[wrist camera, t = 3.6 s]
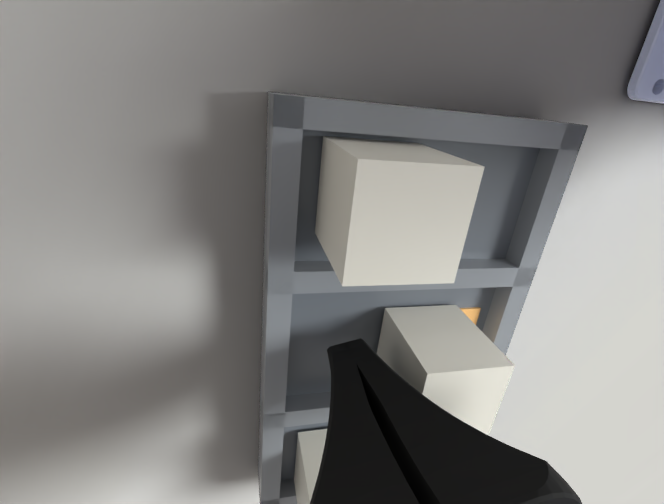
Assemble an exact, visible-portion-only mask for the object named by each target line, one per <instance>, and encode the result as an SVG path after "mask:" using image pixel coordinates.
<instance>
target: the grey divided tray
mask: <svg viewBox="0 0 664 504" xmlns="http://www.w3.org/2000/svg"><path fill="white" fill-rule="evenodd" d="M587 127H588V125H580V124H573V123H565V122H558V121H550V120H542V119H532V118H523V117H513V116H503V115H493V114H483V113H473V112H463V111H454V110H444V109H434V108H424V107H414V106H404V105H394V104H385V103H375V102H365V101H355V100H345V99H335V98H326V97H316V96H306V95H296V94H286V93H276V92H268V112H267V151H266V190H265V228H264V267H263V305H262V344H261V382H260V421H259V459H258V476H259V495H260V504H297V498H296V491H295V484H294V473H295V461H296V449H297V437H298V432H305V431H313V430H321V429H327V428H328V420H329V410H330V399H331V370H330V364H329V359H328V353H327V349H328V348H329V347H330V346H334V345H337V344H341V343H345V342H349V341H353V340H356V339H360V338H361V339H363V340H365V342H366V343H367V344H368V345H369V346H370V347H371V348H372V350H373V351H374V352H375V353H376V354H377V349H378V343H379V338H380V333H381V327H382V322H383V316H384V311H385V308H396V307H418V306H440V305H457V306H458V307H459V308H460V309H461V310H462V311H463V312H464V313H465V315H466V316H467V317H468V318H469V319H470V320H471V321H472V322H473V323H474V324H475V325H476V326H477V327H478V328H479V329H480V330H481V331H482V332H483V333H484V334H485V335H486V336H487V337H488V338H489V339H490V340H491V341H492V342H493V343H494V344H495V345H496V346H497V347H498V349H499V350H500V351H501V352H502V353H503V354H504V355H506V352H507V350H508V347H509V344H510V341H511V339H512V336H513V333H514V330H515V327H516V325H517V322H518V319H519V316H520V313H521V311H522V308H523V305H524V302H525V300H526V297H527V294H528V291H529V288H530V286H531V283H532V280H533V277H534V274H535V272H536V269H537V266H538V263H539V261H540V258H541V255H542V252H543V249H544V247H545V244H546V241H547V238H548V235H549V233H550V230H551V227H552V224H553V222H554V219H555V216H556V213H557V210H558V208H559V205H560V202H561V199H562V197H563V194H564V191H565V188H566V185H567V183H568V180H569V177H570V174H571V171H572V169H573V166H574V163H575V160H576V158H577V155H578V152H579V149H580V146H581V144H582V141H583V138H584V135H585V132H586V130H587ZM323 136H331V137H344V138H357V139H371V140H384V141H397V142H411V143H419V144H422V145H425V146H428V147H430V148H433V149H436V150H439V151H442V152H445V153H447V154H450V155H453V156H456V157H459V158H462V159H464V160H467V161H470V162H473V163H476V164H479V165H481V166H484V171H483V175H482V179H481V183H480V186H479V190H478V194H477V198H476V202H475V205H474V209H473V213H472V217H471V221H470V224H469V228H468V232H467V236H466V240H465V243H464V247H463V251H462V255H461V259H460V262H459V266H458V270H457V274H456V278H455V281H454V283H446V284H411V285H377V286H342V285H341V283H340V281H339V279H338V277H337V275H336V273H335V271H334V269H333V267H332V265H331V263H330V261H329V259H328V257H327V256H326V254H325V252H324V250H323V248H322V246H321V244H320V242H319V240H318V238H317V236H316V234H315V226H316V214H317V202H318V190H319V178H320V167H321V155H322V143H323Z"/></svg>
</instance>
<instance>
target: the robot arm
mask: <svg viewBox="0 0 664 504" xmlns="http://www.w3.org/2000/svg"><path fill="white" fill-rule="evenodd" d="M653 86H654V87H653ZM627 93H628V96H629V98H630V99H632V100H638V101H646V102H654V103H662V104H664V0H661V1H660V3H659V6H658V8H657V11H656V14H655V16H654V19H653V21H652V24H651V27H650V29H649V32H648V34H647V37H646V40H645V42H644V45H643V47H642V50H641V53H640V55H639V58H638V60H637V63H636V66H635V68H634V71H633V73H632V76H631V79H630V81H629V84H628V88H627ZM327 353H328V359H329V364H330V370H331V399H330V410H329V420H328V428H327V434H326V440H325V446H324V450H323V455H322V460H321V465H320V469H319V473H318V477H317V480H316V484H315V487H314V491H313V494H312V498H311V501H310V504H582V502H581V500H580V498H579V497H578V496H577V494H576V493H575V492H574V491H573V489H572V488H571V487H570V486H569V485H568V483H567V482H566V481H565V480H564V479H563V478H562V477H561V476H560V475H559V474H558V473H557V472H556V471H555V470H554V469H553V468H552V467H551V466H550V465H549V464H548V463H547V461H545V460H542V459H540V458H537V457H535V456H532V455H530V454H528V453H525V452H523V451H520V450H518V449H516V448H513V447H511V446H509V445H506V444H504V443H502V442H500V441H498V440H496V439H494V438H492V437H490V436H488V435H486V434H485V433H483V432H481V431H479V430H477V429H476V428H474V427H472V426H470V425H468V424H467V423H465V422H463V421H461V420H459V419H458V418H456V417H455V416H453V415H452V414H450V413H448V412H447V411H445V410H444V409H442V408H441V407H439V406H438V405H436V404H435V403H433V402H432V401H431V400H429V399H428V398H427V397H425V396H424V395H423V394H421V393H420V392H419V391H417V390H416V389H415V388H414V387H412V386H411V385H410V384H409V383H407V382H406V381H405V380H404V379H403V378H402V377H401V376H399V375H398V374H397V373H396V372H395V371H394V370H393V369H392V368H390V367H389V366H388V365H387V364H386V363H385V362H384V361H383V360H382V359H381V358H380V357H379V356H378V355H377V354H376V353H375V352H374V351H373V350H372V348H371V347H370V346H369V345H368V344H367V343H366V342H365V340H363V339H361V338H360V339H356V340H353V341H349V342H345V343H341V344H337V345H334V346H330V347H329V348H328V349H327Z"/></svg>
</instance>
